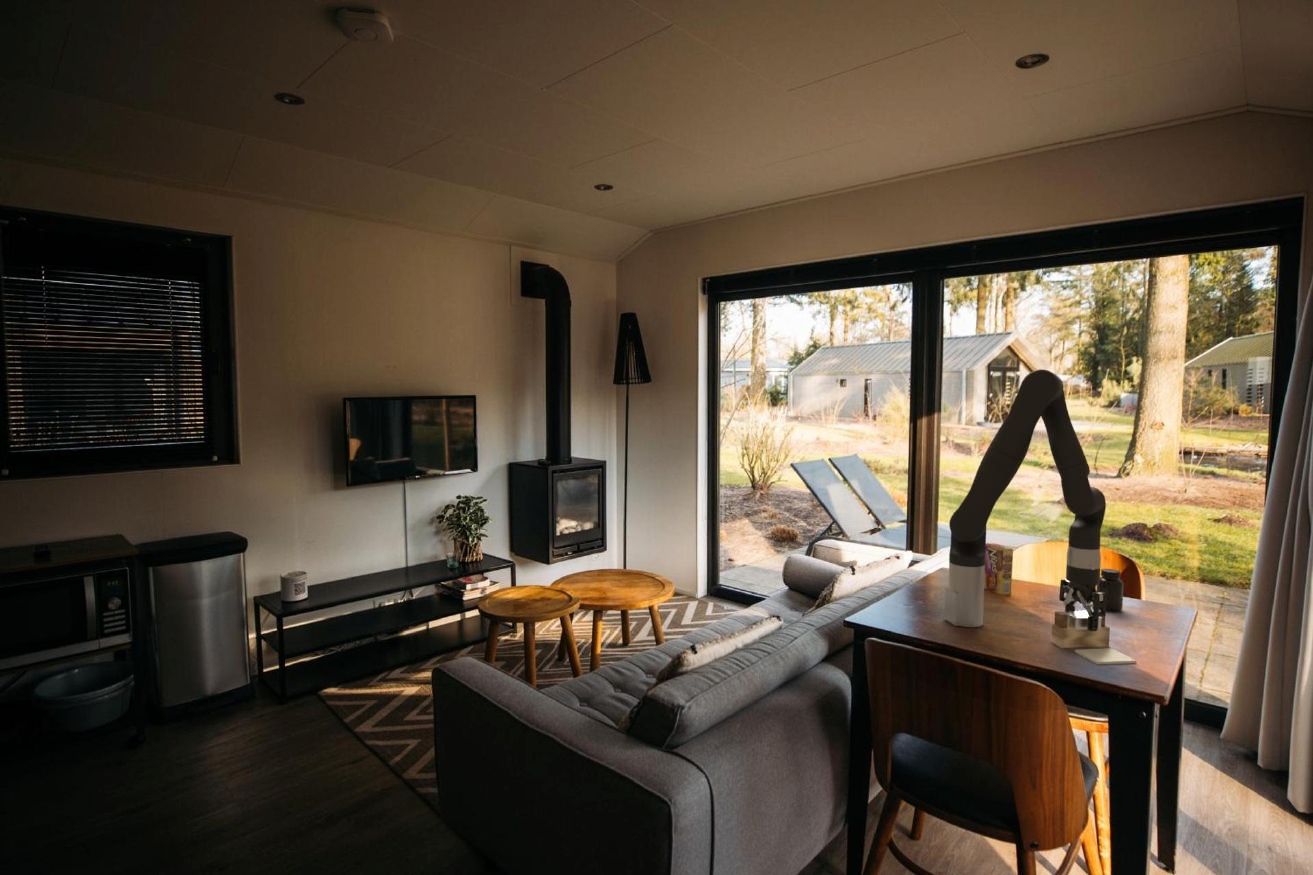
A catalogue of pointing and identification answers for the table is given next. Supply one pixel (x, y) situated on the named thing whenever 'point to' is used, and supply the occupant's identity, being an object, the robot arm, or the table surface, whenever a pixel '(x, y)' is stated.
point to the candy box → (998, 568)
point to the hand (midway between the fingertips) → (1080, 625)
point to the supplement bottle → (1111, 589)
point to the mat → (1105, 656)
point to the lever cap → (1079, 619)
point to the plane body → (1078, 634)
